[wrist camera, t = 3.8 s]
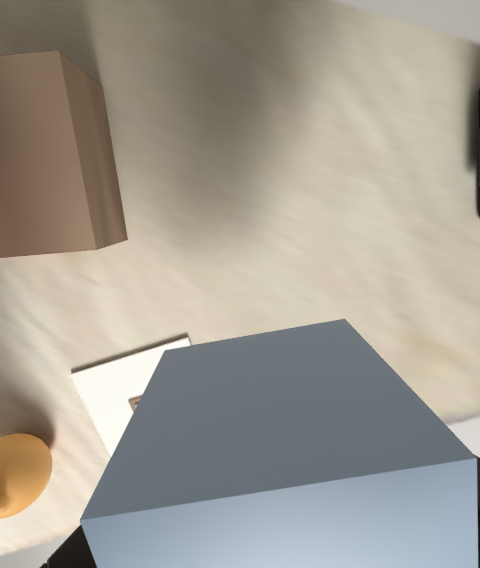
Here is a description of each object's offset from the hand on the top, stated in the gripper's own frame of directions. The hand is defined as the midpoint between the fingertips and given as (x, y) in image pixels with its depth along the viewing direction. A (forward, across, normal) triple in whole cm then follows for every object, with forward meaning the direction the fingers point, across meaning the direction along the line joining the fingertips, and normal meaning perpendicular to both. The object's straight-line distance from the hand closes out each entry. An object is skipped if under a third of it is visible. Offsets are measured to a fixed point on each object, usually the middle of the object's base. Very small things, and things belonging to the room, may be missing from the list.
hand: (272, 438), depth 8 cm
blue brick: (+1, 0, 0) cm, 1 cm away
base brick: (+10, +9, -9) cm, 16 cm away
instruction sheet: (+10, +7, +4) cm, 12 cm away
